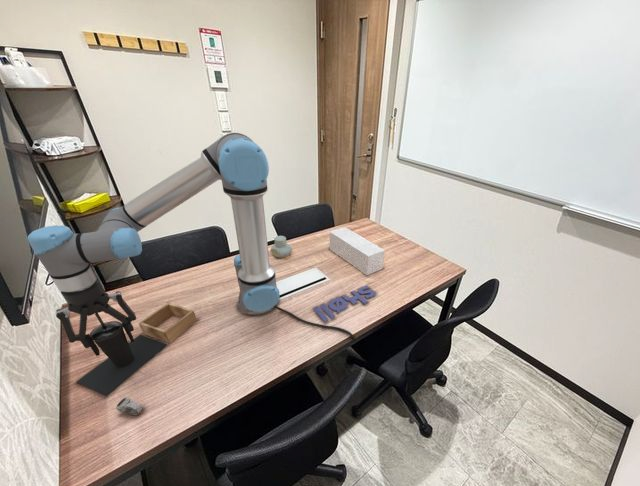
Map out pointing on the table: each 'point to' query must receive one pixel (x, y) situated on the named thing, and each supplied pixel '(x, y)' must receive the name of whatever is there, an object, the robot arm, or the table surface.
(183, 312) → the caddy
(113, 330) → the drinking cup
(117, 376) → the mat
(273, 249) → the air freshener
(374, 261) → the white rectangular block
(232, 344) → the table surface
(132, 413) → the grey stone
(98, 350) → the robot arm
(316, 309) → the signage
